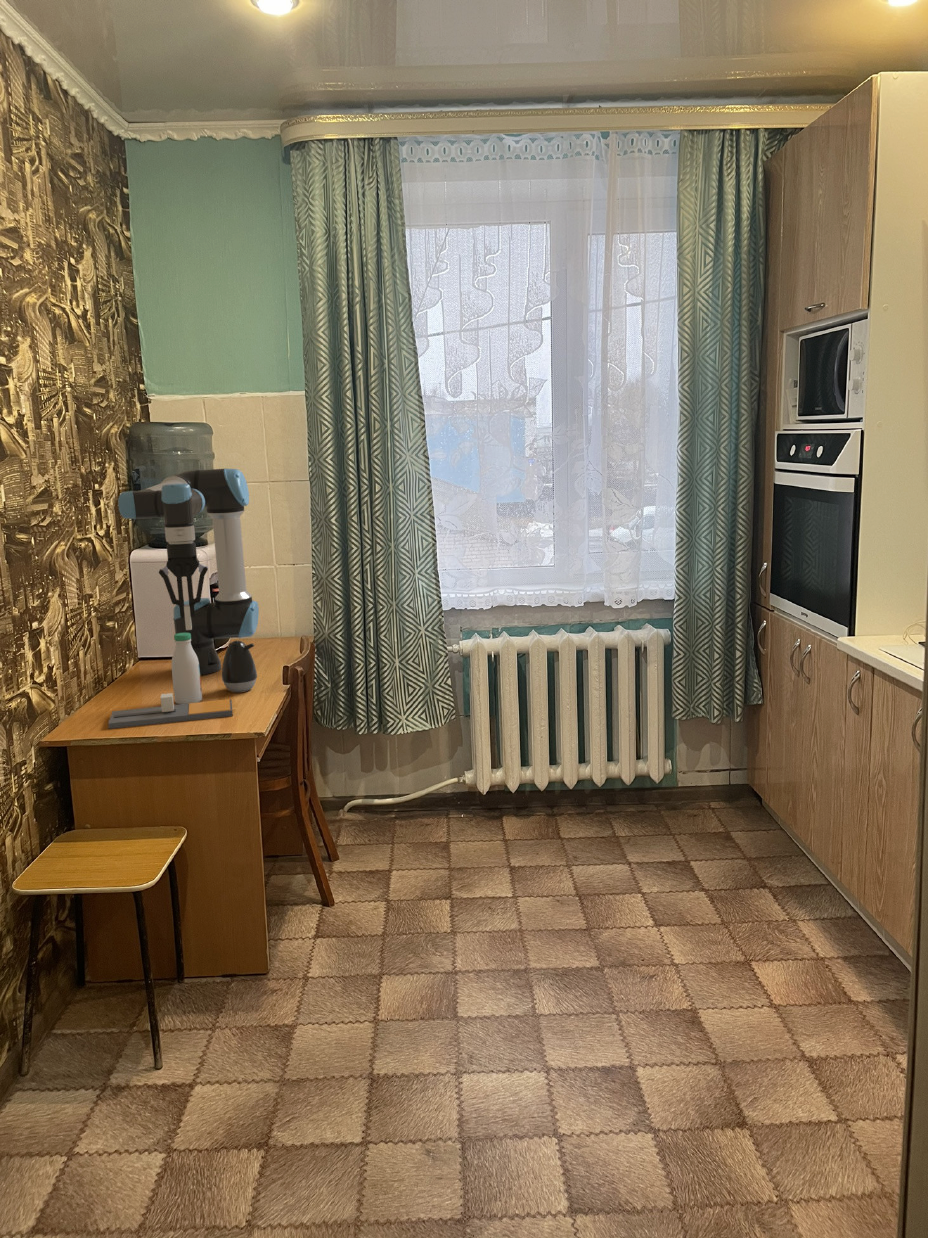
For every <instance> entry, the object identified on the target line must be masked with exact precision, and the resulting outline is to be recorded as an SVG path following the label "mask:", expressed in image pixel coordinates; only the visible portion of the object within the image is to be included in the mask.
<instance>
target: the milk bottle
mask: <svg viewBox="0 0 928 1238" xmlns="http://www.w3.org/2000/svg"><path fill="white" fill-rule="evenodd" d="M173 638H174V639H173V640H174V643H175V648H174V651H173V654H172V658H171V674H172V675H171V677H172V687H173V700H174V703H175V704H176V705H180V704H189V703H197V702H202V700H203V692H202V691H203V689H202V681H201V680H202V679H201V675H200V669H199V662H198V658H197V655H196V653H195V652H194V650H193V648H192V646H191V634H190V633H178V634H175V633H174V635H173Z"/></svg>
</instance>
